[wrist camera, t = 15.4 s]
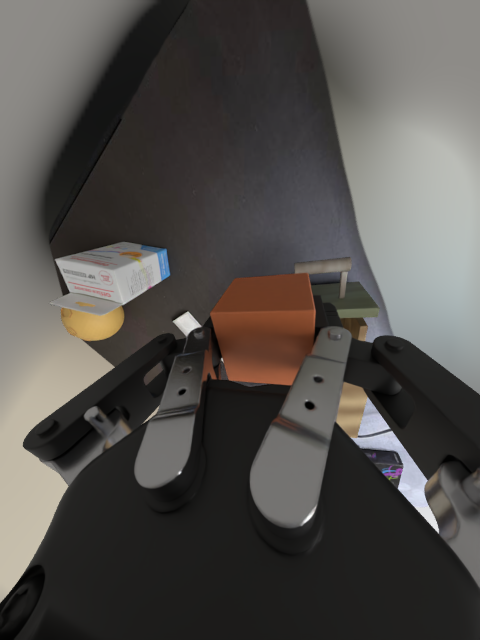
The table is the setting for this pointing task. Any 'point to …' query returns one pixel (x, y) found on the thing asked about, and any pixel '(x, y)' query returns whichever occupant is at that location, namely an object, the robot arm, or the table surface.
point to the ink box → (110, 276)
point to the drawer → (343, 294)
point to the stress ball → (92, 323)
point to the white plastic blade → (187, 323)
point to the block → (265, 327)
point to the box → (387, 464)
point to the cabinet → (351, 409)
